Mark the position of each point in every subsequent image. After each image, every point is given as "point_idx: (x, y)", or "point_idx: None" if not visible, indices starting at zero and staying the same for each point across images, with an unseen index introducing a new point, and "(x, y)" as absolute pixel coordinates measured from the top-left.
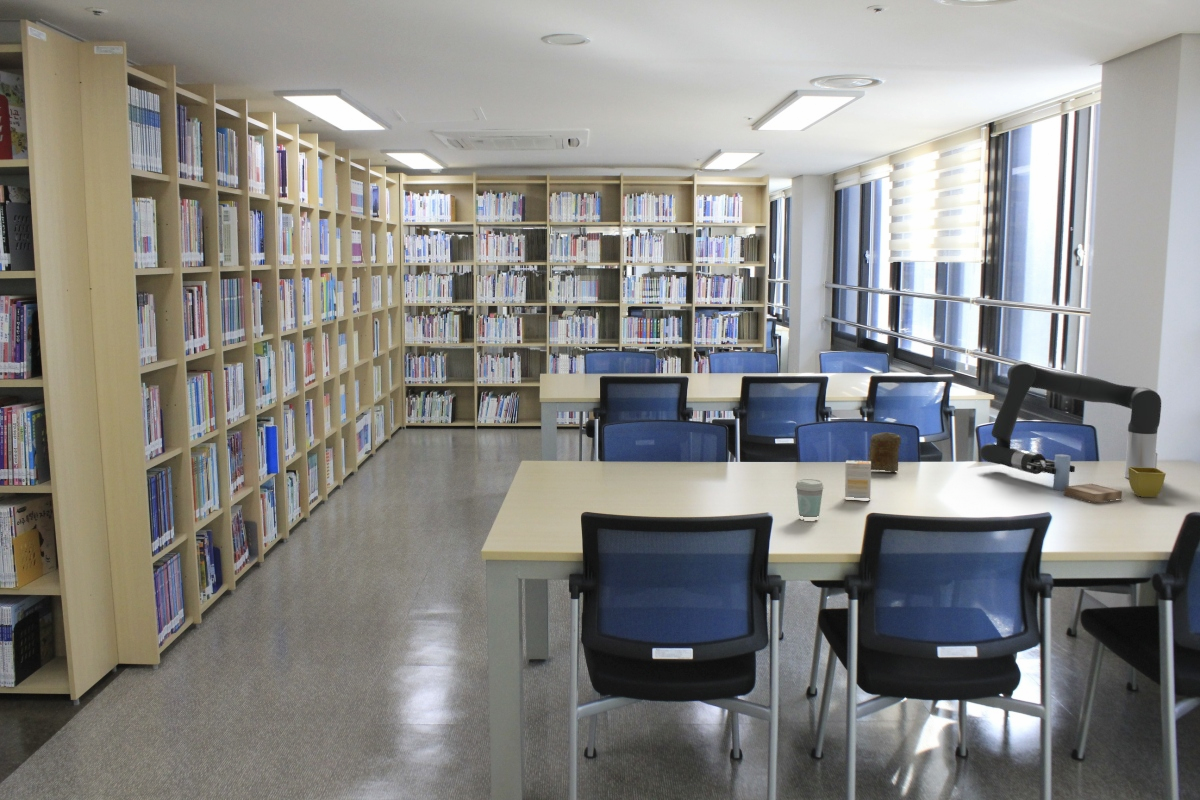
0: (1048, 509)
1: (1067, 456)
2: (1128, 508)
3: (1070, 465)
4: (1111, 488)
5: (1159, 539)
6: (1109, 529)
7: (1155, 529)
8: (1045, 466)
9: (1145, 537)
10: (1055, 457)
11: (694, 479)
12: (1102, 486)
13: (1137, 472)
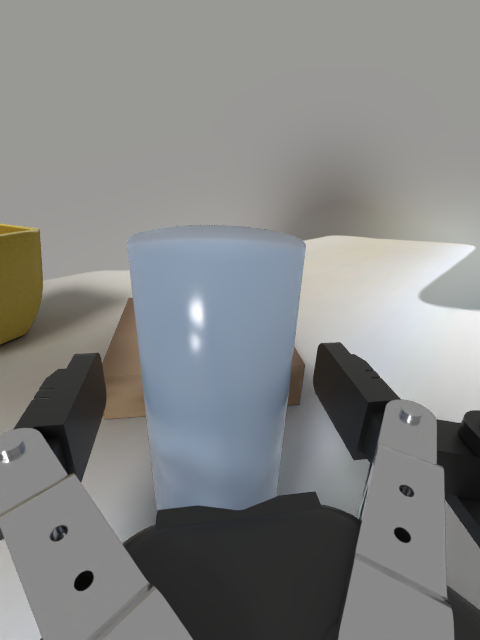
0: (442, 316)
1: (203, 228)
2: None
3: (78, 373)
4: (122, 316)
5: (308, 242)
6: (355, 258)
7: None
8: (398, 403)
9: (321, 245)
10: (302, 273)
11: None
12: (117, 336)
13: (36, 229)
